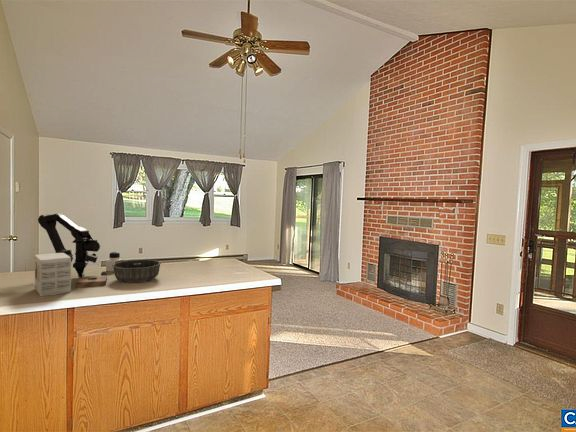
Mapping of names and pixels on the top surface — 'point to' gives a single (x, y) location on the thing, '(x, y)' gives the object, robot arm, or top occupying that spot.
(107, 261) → the medicine bottle
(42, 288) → the supplement box
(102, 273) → the dark gray rubber ball
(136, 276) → the bundt pan
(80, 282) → the walnut board
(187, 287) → the top surface
